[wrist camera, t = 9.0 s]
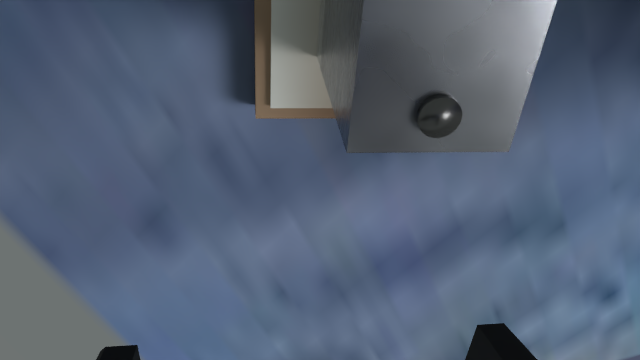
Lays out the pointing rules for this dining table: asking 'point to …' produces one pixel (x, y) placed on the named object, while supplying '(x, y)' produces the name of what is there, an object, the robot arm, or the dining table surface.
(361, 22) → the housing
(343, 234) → the dining table surface
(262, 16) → the wooden picture frame
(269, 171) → the dining table surface
